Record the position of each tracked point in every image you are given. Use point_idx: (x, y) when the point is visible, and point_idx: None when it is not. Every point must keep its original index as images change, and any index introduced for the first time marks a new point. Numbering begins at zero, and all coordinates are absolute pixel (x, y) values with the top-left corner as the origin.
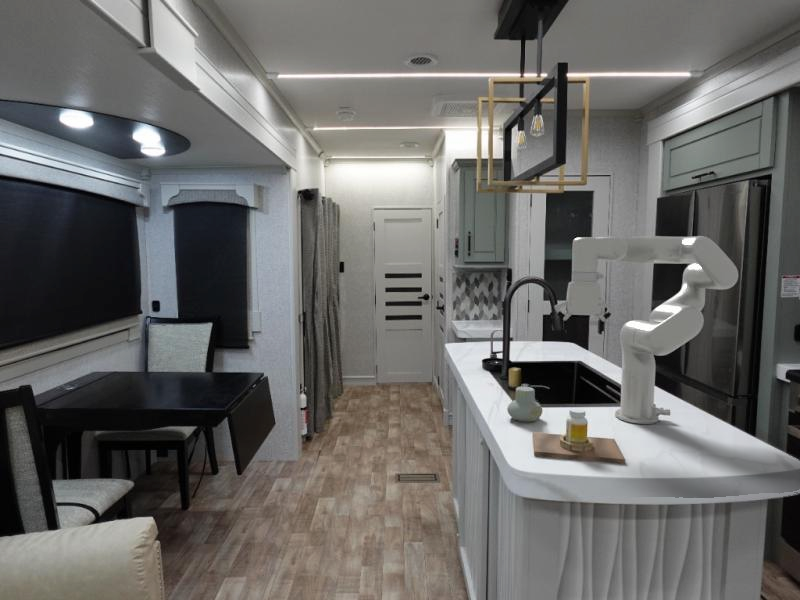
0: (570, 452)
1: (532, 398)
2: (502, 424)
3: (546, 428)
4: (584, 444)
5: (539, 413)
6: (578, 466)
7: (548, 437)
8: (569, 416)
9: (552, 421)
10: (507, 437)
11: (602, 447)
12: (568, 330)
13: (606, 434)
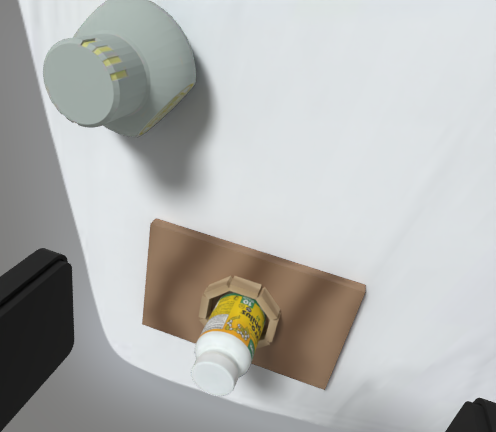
0: None
1: (126, 113)
2: None
3: (204, 160)
4: None
5: (183, 94)
6: None
7: (185, 260)
8: (200, 352)
9: (240, 92)
10: (95, 217)
11: (302, 332)
12: (51, 370)
13: (379, 224)
